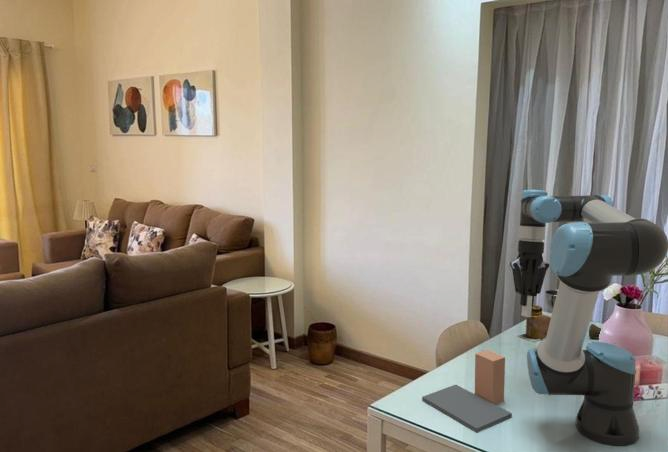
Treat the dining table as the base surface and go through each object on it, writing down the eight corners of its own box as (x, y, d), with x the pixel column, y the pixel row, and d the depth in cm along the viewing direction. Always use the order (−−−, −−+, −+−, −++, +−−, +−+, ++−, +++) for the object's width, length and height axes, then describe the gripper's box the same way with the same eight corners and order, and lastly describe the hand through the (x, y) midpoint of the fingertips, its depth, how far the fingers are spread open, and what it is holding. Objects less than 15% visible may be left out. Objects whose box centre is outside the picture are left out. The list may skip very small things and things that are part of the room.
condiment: (547, 337, 213) (548, 307, 211) (533, 342, 208) (534, 312, 206) (531, 332, 219) (532, 303, 217) (517, 336, 214) (518, 307, 212)
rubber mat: (511, 417, 155) (511, 413, 154) (476, 432, 147) (476, 428, 147) (455, 388, 173) (455, 384, 173) (422, 400, 166) (422, 396, 165)
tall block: (503, 401, 164) (505, 357, 161) (492, 406, 161) (493, 361, 159) (486, 392, 170) (486, 349, 167) (474, 396, 167) (475, 353, 165)
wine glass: (563, 332, 217) (564, 296, 214) (542, 329, 221) (543, 293, 218) (566, 326, 223) (568, 291, 221) (546, 323, 228) (547, 288, 225)
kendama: (625, 333, 216) (612, 348, 201) (599, 329, 222) (584, 343, 207) (626, 318, 215) (613, 332, 200) (599, 314, 221) (585, 327, 206)
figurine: (560, 349, 200) (561, 310, 198) (555, 357, 194) (557, 317, 191) (536, 345, 205) (537, 307, 202) (530, 353, 198) (532, 313, 196)
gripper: (541, 239, 173) (536, 313, 174) (505, 238, 169) (500, 313, 171) (557, 241, 166) (551, 318, 167) (520, 240, 162) (515, 319, 163)
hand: (526, 316), depth 169 cm, fingers closed
